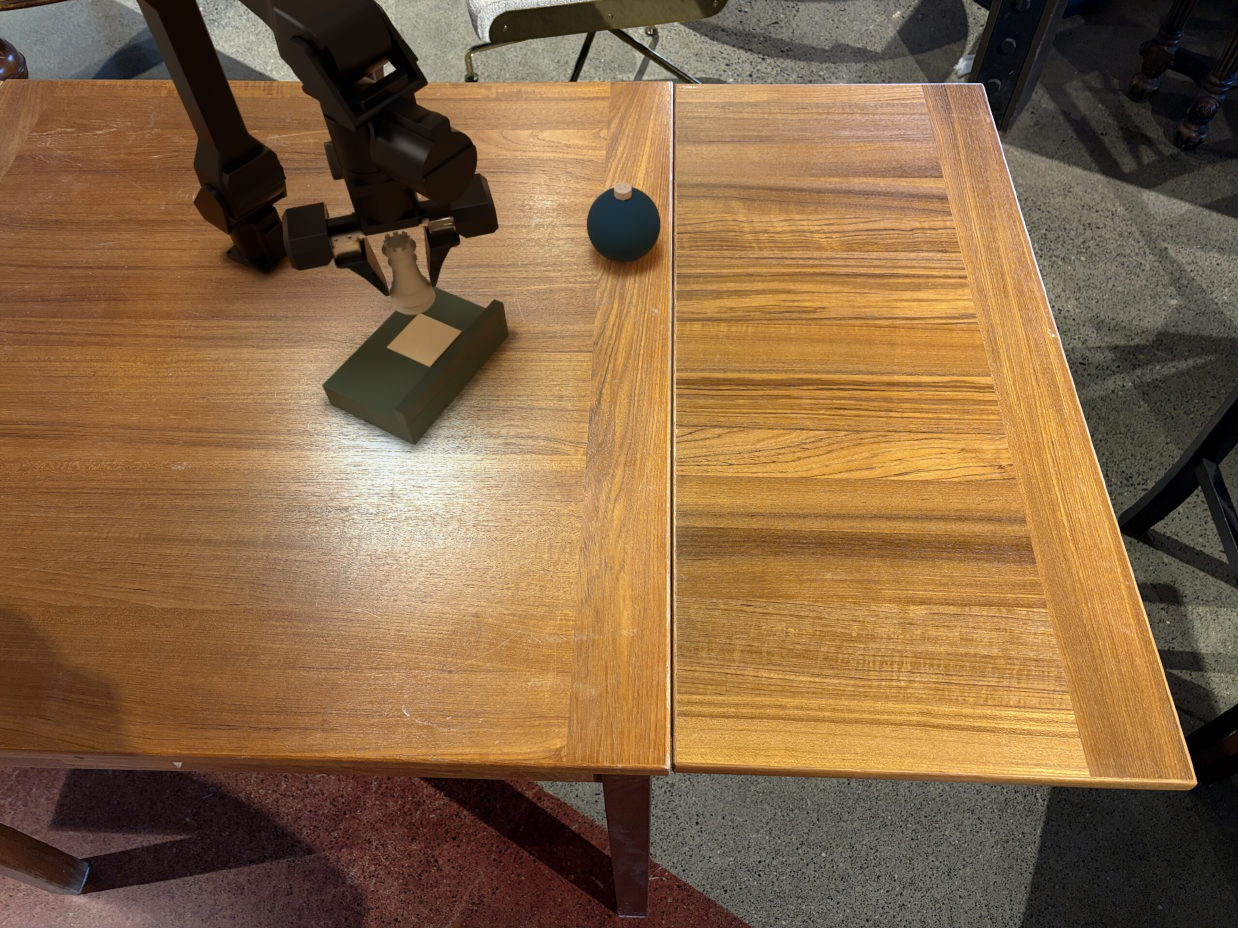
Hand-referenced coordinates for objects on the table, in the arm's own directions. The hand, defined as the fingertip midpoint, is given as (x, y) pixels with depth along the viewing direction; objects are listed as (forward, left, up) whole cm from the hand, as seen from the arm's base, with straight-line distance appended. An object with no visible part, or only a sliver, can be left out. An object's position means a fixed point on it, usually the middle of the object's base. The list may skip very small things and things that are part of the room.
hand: (410, 288), depth 88 cm
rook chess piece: (0, 0, -2) cm, 2 cm away
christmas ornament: (+10, +24, -10) cm, 28 cm away
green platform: (0, -2, -10) cm, 10 cm away
